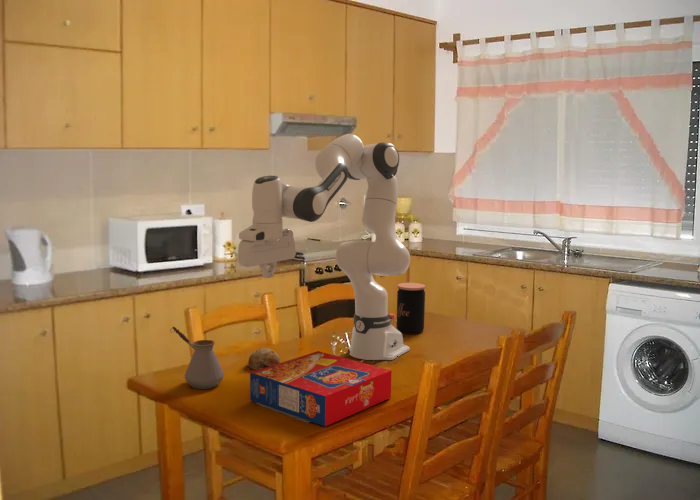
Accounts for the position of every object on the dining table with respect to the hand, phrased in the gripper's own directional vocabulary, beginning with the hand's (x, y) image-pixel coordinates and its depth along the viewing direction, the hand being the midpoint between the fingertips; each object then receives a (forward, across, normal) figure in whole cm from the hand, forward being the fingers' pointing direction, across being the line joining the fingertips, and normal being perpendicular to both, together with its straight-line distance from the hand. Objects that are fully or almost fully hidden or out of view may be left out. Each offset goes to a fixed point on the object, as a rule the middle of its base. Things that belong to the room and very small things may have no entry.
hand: (268, 277), depth 214 cm
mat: (+31, +3, +23) cm, 39 cm away
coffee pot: (+32, +17, -15) cm, 39 cm away
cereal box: (+27, +3, +10) cm, 29 cm away
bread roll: (+32, -7, -11) cm, 35 cm away
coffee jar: (+34, -76, -2) cm, 83 cm away
